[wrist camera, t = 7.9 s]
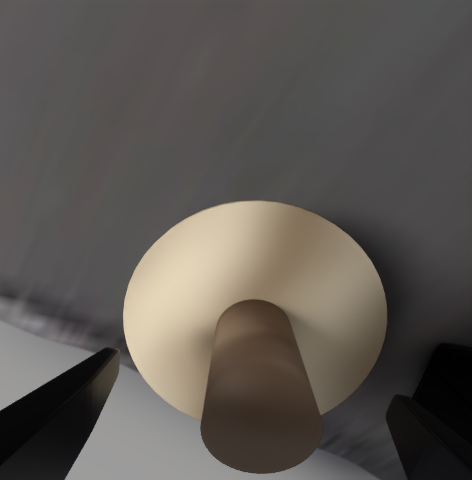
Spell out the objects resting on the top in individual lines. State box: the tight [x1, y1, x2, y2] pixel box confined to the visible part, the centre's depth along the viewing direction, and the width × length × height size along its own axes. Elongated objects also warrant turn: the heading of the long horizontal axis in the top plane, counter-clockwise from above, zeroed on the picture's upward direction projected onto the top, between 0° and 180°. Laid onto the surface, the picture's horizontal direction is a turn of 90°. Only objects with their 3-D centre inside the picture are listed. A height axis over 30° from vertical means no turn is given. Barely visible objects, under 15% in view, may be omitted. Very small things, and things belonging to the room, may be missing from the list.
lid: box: [123, 200, 387, 474], centre depth 9 cm, size 11×11×5 cm
